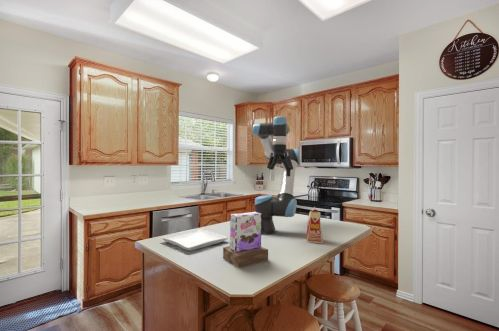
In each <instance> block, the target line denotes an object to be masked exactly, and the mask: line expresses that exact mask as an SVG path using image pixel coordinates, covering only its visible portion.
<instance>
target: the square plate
mask: <svg viewBox="0 0 499 331" xmlns="http://www.w3.org/2000/svg"><path fill="white" fill-rule="evenodd" d="M160 238H161V239H162V240H163V241H164V242H166V243H168V244H171V245H173V246H176V247H179V248H181V249H183V250H186V251H196V250H199V249H203V248H206V247H210V246H213V245H216V244H220V243H223V242H225V241H226V240H228V238H229V237H228V236H227V235H223V234H219V233H218V232H217V233H216V232H213V231H211V230H206V229H202V228H196V229H190V230H189V229H188V230H184V231H180V232H175V233H172V234H169V235H168V234H167V235H164V236H161V237H160Z"/></svg>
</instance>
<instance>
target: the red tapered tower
mask: <svg viewBox="0 0 499 331" xmlns="http://www.w3.org/2000/svg"><path fill="white" fill-rule="evenodd" d="M305 238H306V243H315V244H324V241H323V233H322V224H321V211H319V210H318V209H316V206H314V207H313V209H312V210H310V211H309V213H308V218H307V227H306V237H305Z"/></svg>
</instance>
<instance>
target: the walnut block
mask: <svg viewBox="0 0 499 331" xmlns="http://www.w3.org/2000/svg"><path fill="white" fill-rule="evenodd" d="M222 249H223V251H222V254H223V255H222V258H223V259H224V260H226V261H227V262H229V263H230V264H232V265H234V267H237V268H238V269H239V268H244V267H248V266H252V265H255V264H259V263H262V262H267V261H269V249H268V248H266V247H263V246H261V248H257V249H252V250H246V251H240V252H234V251H233V250H231V249H230V245H229V246H223V248H222Z"/></svg>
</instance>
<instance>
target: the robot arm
mask: <svg viewBox="0 0 499 331" xmlns="http://www.w3.org/2000/svg"><path fill="white" fill-rule="evenodd" d="M287 123H288V122H287V117H286V116H274V117H273V120H272V122H270V123H269V122H268V123H267V122H265V123H261V122H260V123H253V125H252V135H253V136H255V137H258V138H259V141H260V143H261V144H262V146H263V149H264V156H265V158H266V159H267V160H268V163H267V166H266V168H267V169H269V181H271V182H272V181H275V166H276V165H281V166H282V173H281V182H280V189H279V190H280V191H279V193H278V194H277V195H276V197H274V196H273V195H271V194H269V195H261V196H257V197H255V199H254V212H257V213H260V214H261V235H270V234H274V233H276V227H275V224H274V220H273V217H282V218H284V217H285V218H292V217H294V216H295V214H296V211H297V203H298V202H297V199H296V198H295V197H296V196H295V195H294V186H295V176H296V169H297V168H298V166H299V165H301V159H300V158H301V157H300V150H299V149H298V148H287V135H288V134H289V133H290V126H289V125H288V124H287Z"/></svg>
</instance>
